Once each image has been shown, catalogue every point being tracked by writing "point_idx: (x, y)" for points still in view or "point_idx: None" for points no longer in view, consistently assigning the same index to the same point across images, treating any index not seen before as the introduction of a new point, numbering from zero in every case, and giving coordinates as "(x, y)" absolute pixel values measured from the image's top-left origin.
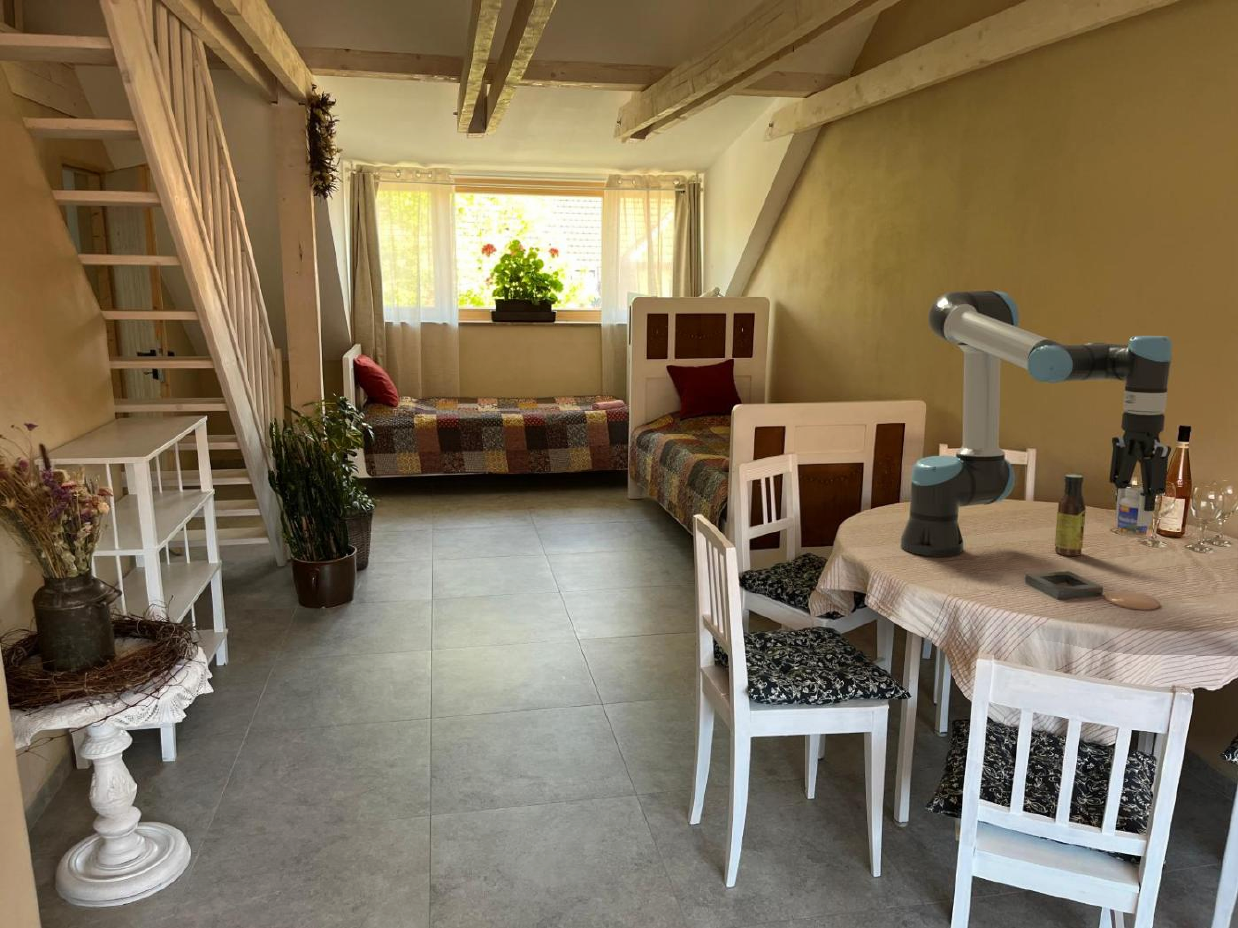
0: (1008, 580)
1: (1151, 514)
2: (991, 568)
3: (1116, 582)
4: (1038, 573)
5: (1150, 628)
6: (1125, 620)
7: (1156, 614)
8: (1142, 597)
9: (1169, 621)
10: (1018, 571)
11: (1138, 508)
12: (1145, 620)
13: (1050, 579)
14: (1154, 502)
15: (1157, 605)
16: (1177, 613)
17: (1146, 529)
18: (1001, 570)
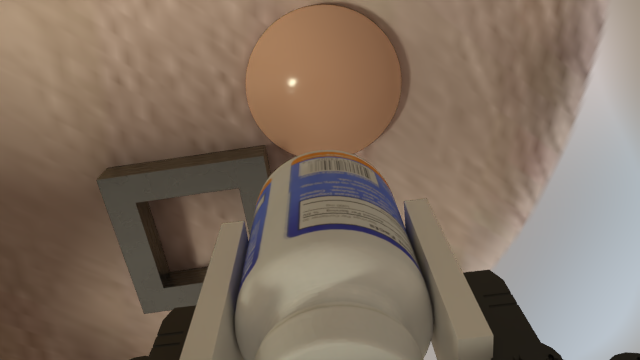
0: (131, 326)
1: (443, 238)
2: (20, 326)
3: (126, 19)
4: (131, 277)
5: (526, 161)
6: (461, 191)
7: (436, 78)
8: (312, 44)
9: (494, 76)
10: (39, 270)
11: (431, 340)
12: (472, 139)
13: (155, 247)
14: (522, 317)
15: (390, 43)
16: (440, 4)
17: (383, 183)
18: (36, 309)
